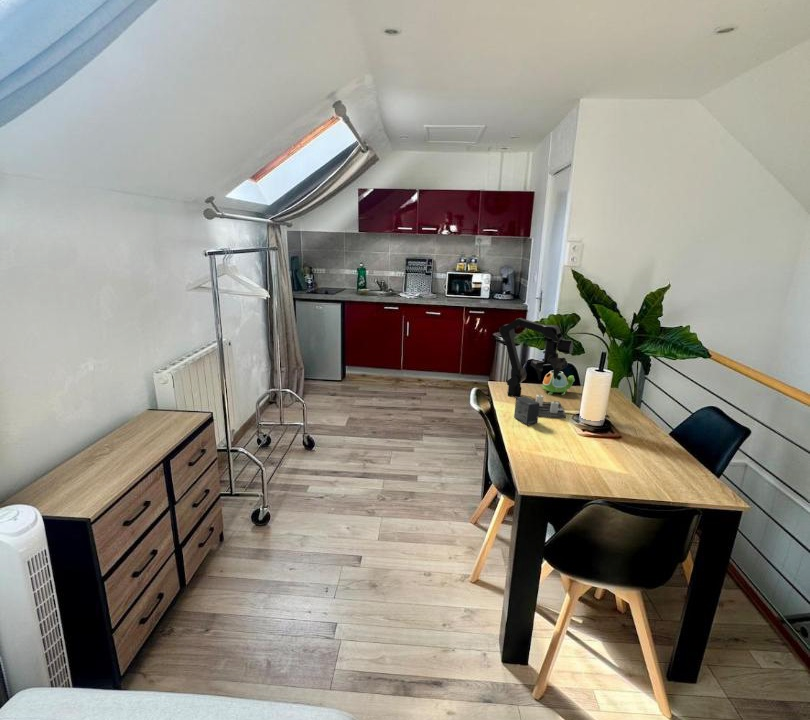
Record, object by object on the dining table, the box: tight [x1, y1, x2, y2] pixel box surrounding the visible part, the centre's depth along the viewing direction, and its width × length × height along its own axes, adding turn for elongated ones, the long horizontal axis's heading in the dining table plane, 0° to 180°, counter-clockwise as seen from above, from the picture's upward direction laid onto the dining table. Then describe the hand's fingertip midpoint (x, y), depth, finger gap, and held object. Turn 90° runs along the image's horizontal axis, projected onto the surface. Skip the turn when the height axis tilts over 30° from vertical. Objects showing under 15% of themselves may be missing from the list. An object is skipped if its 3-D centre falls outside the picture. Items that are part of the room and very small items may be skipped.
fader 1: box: [535, 394, 544, 406], centre depth 232 cm, size 3×3×5 cm
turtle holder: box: [542, 369, 576, 396], centre depth 258 cm, size 12×18×12 cm
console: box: [538, 400, 567, 419], centre depth 230 cm, size 15×18×2 cm
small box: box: [513, 396, 540, 426], centre depth 215 cm, size 11×6×10 cm, turn 22°
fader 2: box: [550, 400, 559, 414], centre depth 223 cm, size 3×3×5 cm
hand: (547, 379), depth 239 cm, fingers open, 9 cm apart
